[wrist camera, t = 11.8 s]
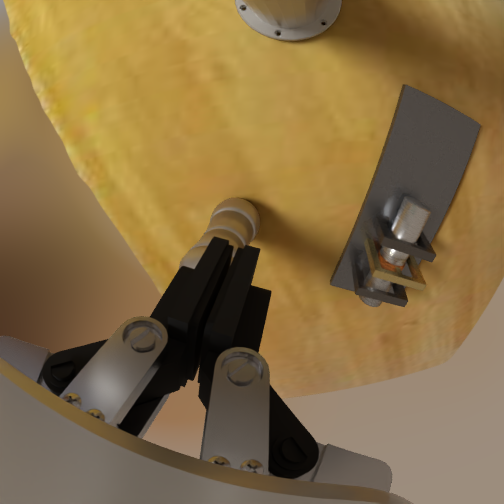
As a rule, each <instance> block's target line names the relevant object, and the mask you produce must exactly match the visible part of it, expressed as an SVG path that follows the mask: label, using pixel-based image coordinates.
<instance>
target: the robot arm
mask: <svg viewBox="0 0 504 504" xmlns="http://www.w3.org/2000/svg"><path fill="white" fill-rule="evenodd" d="M341 4H342V0H235V5H236V8H237V10H238V13H239V14H240V16H241V18H242V19H243V20H244V21H245V22H246V23H247V24H248V25H249V26H250V27H251V28H252V29H253V30H255V31H257V32H258V33H260V34H262V35H264V36H267V37H269V38H273V39H277V40H283V41H299V40H304V39H309V38H312V37H314V36H317V35H319V34H321V33H322V32H324V31H325V30H327V29H328V28H329V27H330V26H331V25H332V24H333V23H334V21H335V20H336V18H337V17H338V14H339V12H340V8H341ZM243 8H246V10H245V11H243ZM322 22H324V23H325V25H322V24H321V23H322ZM278 32H280V33H281V35H280V36H278V35H277V33H278ZM233 249H234V246H233V245H229V240H226V239H223V238H219V237H215V236H214V237H213V238H212V240H211V241H210V243H209V245H208V246H207V248H206V250H205V252H204V253H203V255H202V257H201V258H200V260H199V262H198V264H197V265H196V267H195V269H193V268H190V267H186V266H181V268H180V269H179V270H178V272H177V274H176V275H175V277H174V278H173V280H172V282H171V283H170V285H169V286H168V288H167V290H166V291H165V293H164V294H163V296H162V298H161V299H160V301H159V303H158V304H157V306H156V308H155V309H154V311H153V312H152V314H151V316H150V317H144V316H140V317H134V318H131V319H129V320H127V321H125V322H124V323H123V324H122V325H121V326H120V327H119V328H118V329H117V330H116V331H115V333H114V334H113V335H112V336H111V337H110V338H109V339H107V340H103V341H99V342H95V343H91V344H87V345H84V346H80V347H76V348H72V349H68V350H64V351H60V352H57V353H55V354H53V353H51V352H50V350H49V349H46V348H42V347H39V346H36V345H33V344H30V343H26V342H23V341H20V340H18V339H14V338H12V337H9V336H1V337H0V504H413V503H411V502H410V501H408V500H406V499H405V498H402V497H400V496H398V495H396V494H393V493H389V491H390V487H391V483H392V472H391V469H390V467H389V466H388V465H387V464H386V463H385V462H383V461H381V460H378V459H375V458H371V457H368V456H364V455H361V454H358V453H354V452H351V451H348V450H345V449H342V448H339V447H336V446H333V445H330V444H327V445H323V444H320V443H317V442H316V441H315V440H314V438H313V437H312V435H311V434H310V433H309V432H308V431H307V429H306V428H305V427H304V426H303V425H302V424H301V423H300V421H299V420H298V419H297V418H296V417H295V415H294V414H293V413H292V411H291V410H290V409H289V408H288V407H287V405H286V404H285V403H284V402H283V401H282V399H281V398H280V397H279V395H278V394H277V393H276V392H275V390H274V389H273V388H272V387H271V385H270V372H269V366H268V364H267V362H266V360H265V359H264V358H263V357H262V356H261V355H260V354H259V353H258V352H259V347H260V343H261V338H262V334H263V329H264V325H265V320H266V316H267V311H268V306H269V302H270V297H271V291H270V290H266V289H263V288H259V287H256V286H252V285H251V283H252V279H253V275H254V272H255V268H256V264H257V260H258V257H259V253H260V249H259V248H255V247H252V246H248V245H245V247H244V249H243V248H240V247H238V249H237V251H236V253H235V256H234V258H233V260H232V263H231V259H232V254H233ZM230 264H231V265H230ZM199 365H200V366H199ZM198 368H199V375H198V383H200V386H199V395H198V397H199V398H200V400H201V402H202V403H203V405H204V406H205V408H206V416H205V423H204V431H203V438H202V445H201V453H200V459H197V458H194V457H190V456H187V455H184V454H181V453H178V452H175V451H172V450H169V449H167V448H164V447H161V446H158V445H156V444H153V443H151V442H148V441H146V440H143V439H142V438H143V436H144V435H145V433H146V432H147V430H148V429H149V427H150V425H151V424H152V422H153V421H154V419H155V418H156V416H157V414H158V413H159V411H160V410H161V408H162V406H163V405H164V403H165V402H166V400H167V399H168V397H169V394H170V393H172V392H175V391H178V390H179V389H180V386H183V387H185V385H186V383H187V380H188V379H189V380H192V381H193V380H194V378H195V375H196V373H197V370H198Z"/></svg>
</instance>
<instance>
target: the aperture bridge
mask: <svg viewBox="0 0 504 504" xmlns="http://www.w3.org/2000/svg"><path fill="white" fill-rule="evenodd" d="M364 245H365V249H366V253H367V257H368V261H369V265H370V270H371V274H372V277H376V278H379V279H383V280H386V281H390V282H393V283H397V284H400V285H404V286H407V287H411V288H414V289H417V290H421V291H423V290H424V288H425V287H426V283H425V280H424V278H423V275H422V273H421V271H420V269H419V266H418V264H417V262H416V260H415V257H414V256H412V255H409V257H408V259H407V261H406V262H407V265H408V267H409V270H410V272H411V275H412V277H409V276H406V275H403V274H402V272H401V269H400V268H399V267H396V266H395V268H394V270H393V271H394V272H393V271H389V270H386V269H383V268H381V265H380V261H379V258H378V254H377V251H376V248H375V244H374V241H373V240H372V239H369V238H367V239H366V241H365V243H364Z"/></svg>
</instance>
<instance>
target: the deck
mask: <svg viewBox="0 0 504 504" xmlns="http://www.w3.org/2000/svg"><path fill="white" fill-rule="evenodd" d="M480 125H481V124H479V123H477V122H476V121H474V120H473V119H471V118H469V117H468V116H466V115H464V114H463V113H461V112H459V111H457V110H456V109H454V108H452V107H450V106H448V105H446V104H445V103H443V102H441V101H439V100H437V99H435V98H433V97H431V96H429V95H427V94H425V93H423V92H421V91H419V90H417V89H414V88H412V87H410V86H408V85H404V84H403V86H402V90H401V93H400V97H399V100H398V104H397V107H396V110H395V113H394V117H393V120H392V123H391V126H390V129H389V132H388V135H387V138H386V141H385V144H384V147H383V150H382V153H381V156H380V159H379V162H378V165H377V167H376V170H375V173H374V176H373V178H372V181H371V184H370V186H369V189H368V192H367V194H366V197H365V200H364V202H363V205H362V207H361V210H360V212H359V215H358V217H357V220H356V222H355V225H354V227H353V229H352V232H351V234H350V237H349V239H348V241H347V244H346V246H345V248H344V251H343V253H342V255H341V257H340V260H339V262H338V264H337V266H336V269H335V271H334V273H333V275H332V277H331V280H330V285H332V286H336V287H340V288H343V289H347V290H351V291H354V292H355V289H354V282H353V275H352V267H353V265H354V263H358V264H361V265H362V267H363V272H364V278H365V279H366V277H367V275H368V273H369V271H370V265H369V261H368V257H367V253H366V249H365V245H364V243H365V241H366V239H367V238H369V239H372V240H373V241H374V244H375V248H376V251H377V253H378V251H379V250H380V249H381V248H382V246H381V245H380V243H379V240H378V237H377V234H376V231H375V228H374V226H373V221H374V219H375V216H379V217H381V218H384V220H385V223H386V225H387V227H388V229H389V231H390V229H391V227H392V224H393V222H394V220H395V218H396V216H397V213H398V211H399V209H400V206H401V204H402V202H403V199H404V197H405V196H409V197H412V198H415V199H417V200H419V201H421V202H422V203H424V204H425V205H427V206H428V207H429V208H430V209H431V213H430V215H429V217H428V220H427V222H426V224H425V226H424V228H423V230H422V232H423V233H424V234H425V236H426V238H427V239H428V241H429V243H431V242H432V240H433V238H434V236H435V234H436V232H437V230H438V228H439V226H440V224H441V222H442V220H443V218H444V216H445V214H446V212H447V209H448V207H449V205H450V203H451V201H452V199H453V196H454V194H455V192H456V189H457V187H458V185H459V182H460V180H461V178H462V175H463V173H464V170H465V168H466V165H467V163H468V160H469V157H470V155H471V152H472V149H473V146H474V143H475V141H476V138H477V135H478V132H479V128H480ZM415 245H417V243H416V244H415ZM414 257H415V256H414ZM415 260H416V262H417V264H418V265H419V263H420V262H421V260H422V259H420V258H417V257H415ZM405 263H406V264H405V266H404V268H403V270H402V274H403V275H406V276H409V277H412V275H411V272H410V270H409V267H408V265H407V262H405ZM403 286H404V285H403ZM405 287H406V286H404V289H405ZM389 292H390V293H393V294H394V291H393V287H391V289H390V290H389Z"/></svg>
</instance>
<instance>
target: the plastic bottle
mask: <svg viewBox="0 0 504 504" xmlns="http://www.w3.org/2000/svg"><path fill="white" fill-rule="evenodd" d="M259 227H260V217H259V213H258V211H257V209H256V208H255V207H254V206H253V205H252V204H251V203H250V202H248V201H246V200H244V199H241V198H229V199H227V200H224V201H223V202H221V203H220V204H219V205H218V206H217V207H216V208H215V209H214V211H213V213H212V216H211V219H210V223H209V226H208V228H207V230H206V232H205V233H204V235H203V236H202V237H201V239H200V240H199V241H198V242H197V243H196V244H195V245H194V246H193V247H192V248H191V249H190V250H189V251H188V252H187V253H186V255H185V256H184V257H183V258H182V260H181V262H180V266H179V269H180V268H181V266H186V267H190V268H193V269H195V267H196V265H197V264H198V262H199V260H200V258H201V257H202V255H203V253H204V252H205V250H206V248H207V246H208V245H209V243H210V241H211V240H212V238H213V237H214V236H215V237H219V238H223V239H226V240H229V245H233V246H234V249H233V254H232V259H231V263H232V260H233V258H234V256H235V253H236V251H237V249H238V247H240V248H243V249H244V247H245V245H248V246H249V245H250V243H251V242H252V240H253V239H254V238H255V236H256V235H257V233H258V231H259ZM230 265H231V264H230Z"/></svg>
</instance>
